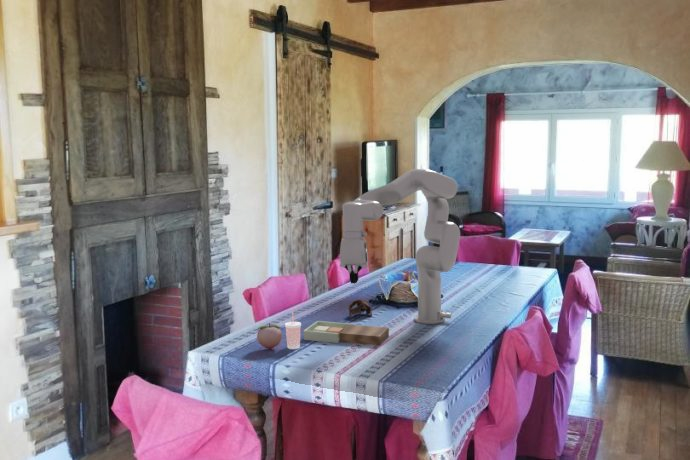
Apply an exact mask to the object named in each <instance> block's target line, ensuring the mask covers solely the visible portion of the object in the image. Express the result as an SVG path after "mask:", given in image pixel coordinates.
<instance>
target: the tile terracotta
mask: <svg viewBox="0 0 690 460" xmlns="http://www.w3.org/2000/svg"><path fill="white" fill-rule="evenodd" d="M342 330H344V328H338V327H331V328H330V329H328V330H327V332H329V333H338V334H339V333H340V332H341V331H342Z"/></svg>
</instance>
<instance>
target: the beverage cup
mask: <svg viewBox="0 0 690 460" xmlns="http://www.w3.org/2000/svg"><path fill="white" fill-rule="evenodd" d="M291 316H292V318H291V321H287V322H285V323H284V328H285V334H286V336H285V337H286V343H287V344H286V346H287V349H289V350H297V349H300V348H301V327H302V322H300V321H294V310H293V309H292V310H291Z"/></svg>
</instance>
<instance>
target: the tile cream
mask: <svg viewBox="0 0 690 460" xmlns="http://www.w3.org/2000/svg"><path fill="white" fill-rule="evenodd" d="M328 329H330V327H328V326H317V327H316V328H315V329H314V331H318V332H327V330H328Z"/></svg>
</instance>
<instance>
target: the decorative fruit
mask: <svg viewBox="0 0 690 460" xmlns="http://www.w3.org/2000/svg"><path fill="white" fill-rule="evenodd" d="M282 329H283V327H281V325H279V324H272V325H271V323H270V322H269V323H268V325H261V326H259V327H258V328H257V329H256V331H257V335H256V340H257V342H258V344H260V346H261V347H263V348H265V349H268V350H272V349H274V348H275V347H278V345H280V343H281V341H282V339H283V334H282V333H283V332H282Z"/></svg>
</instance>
